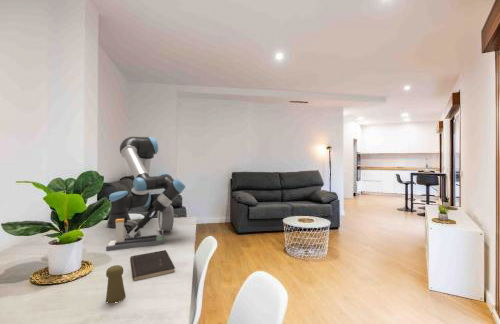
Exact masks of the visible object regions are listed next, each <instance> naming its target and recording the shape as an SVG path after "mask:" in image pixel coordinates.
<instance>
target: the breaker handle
mask: <svg viewBox="0 0 500 324" xmlns="http://www.w3.org/2000/svg"><path fill="white" fill-rule="evenodd" d="M115 223H116V228H115V240H116V242H124V241H125V235H126V234H125V227H124V218H123V219H116V220H115Z"/></svg>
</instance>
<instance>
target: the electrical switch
mask: <svg viewBox="0 0 500 324" xmlns="http://www.w3.org/2000/svg"><path fill="white" fill-rule="evenodd" d="M137 224H139V222H137V221H135V220H127V222H126V223H125V224H124V226H125V227H124V230H125V232H126V235H128V234H129V233H130V232H131V231H132V230H133V229H134V228H135V227H136V226H137ZM141 232H142V231H141V229H140V230H139V231H138V232H137V233H136V234H135V235H134V237H141V235H142V234H141ZM128 236H129V235H128Z"/></svg>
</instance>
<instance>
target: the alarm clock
mask: <svg viewBox="0 0 500 324" xmlns="http://www.w3.org/2000/svg"><path fill="white" fill-rule="evenodd" d="M174 214H175V213H174V207H173V205H172V204H170V205H169V206H166V209H165V210H164V211H163V212H160V211H157V229H158V231H159V232H160V231H161V235H164V232H165V231H169V232H170V231H172V230H173V227H174V222H175V221H174V216H175V215H174Z"/></svg>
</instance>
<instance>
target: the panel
mask: <svg viewBox="0 0 500 324" xmlns="http://www.w3.org/2000/svg"><path fill="white" fill-rule="evenodd" d="M156 245H157V246H159V245H165V235H164V234H161V235H157V234H152V235H143V236H141V235H140V236H136V237H133V238H132V237H126V238H125V241H124V242H116V239H115V240H110V241H109V242H108V243H107V245H106V247H105V251H106V252H109V251H116V250H126V249H134V248H135V249H136V248H143V247H150V246H151V247H153V246H156Z"/></svg>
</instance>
